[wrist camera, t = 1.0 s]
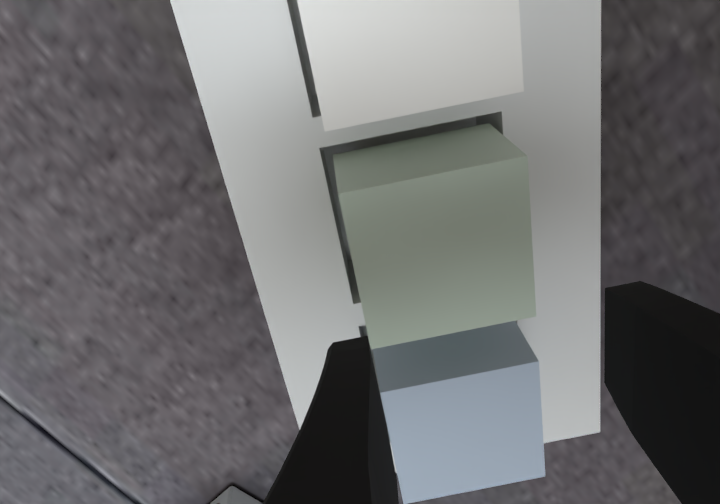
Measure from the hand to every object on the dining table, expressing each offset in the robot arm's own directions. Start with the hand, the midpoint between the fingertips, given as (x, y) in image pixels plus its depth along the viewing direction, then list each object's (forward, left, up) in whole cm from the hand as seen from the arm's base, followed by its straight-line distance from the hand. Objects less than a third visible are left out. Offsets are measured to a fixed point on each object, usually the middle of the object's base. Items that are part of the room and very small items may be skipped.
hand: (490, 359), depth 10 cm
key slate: (0, +6, -7) cm, 9 cm away
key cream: (0, -6, -7) cm, 9 cm away
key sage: (0, 0, -7) cm, 7 cm away
